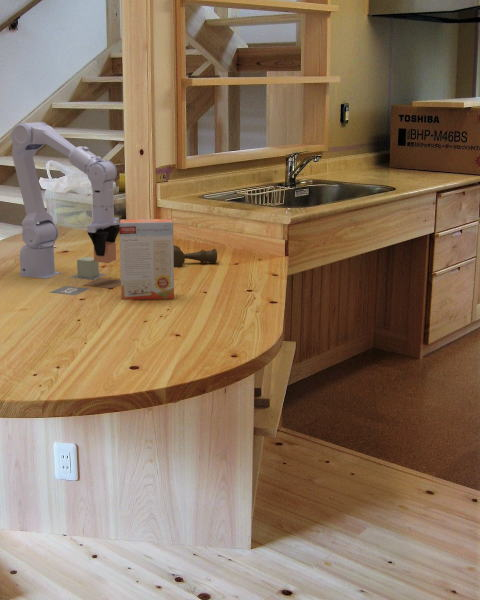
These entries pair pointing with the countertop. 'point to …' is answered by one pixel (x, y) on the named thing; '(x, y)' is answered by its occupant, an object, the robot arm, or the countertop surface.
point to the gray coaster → (88, 278)
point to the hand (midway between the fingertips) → (104, 253)
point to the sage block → (87, 267)
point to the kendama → (194, 256)
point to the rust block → (107, 253)
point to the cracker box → (146, 259)
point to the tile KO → (69, 290)
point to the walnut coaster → (104, 283)
